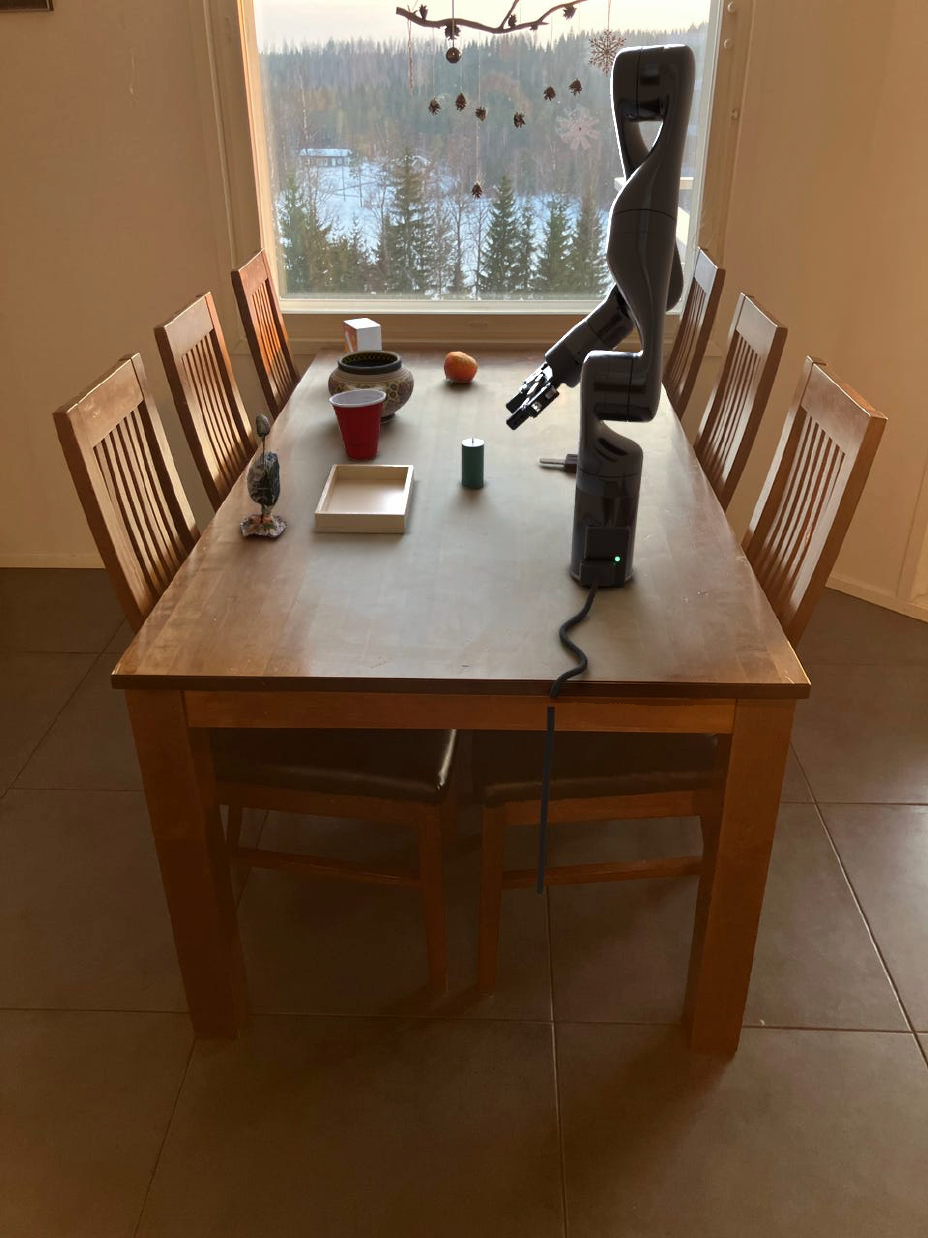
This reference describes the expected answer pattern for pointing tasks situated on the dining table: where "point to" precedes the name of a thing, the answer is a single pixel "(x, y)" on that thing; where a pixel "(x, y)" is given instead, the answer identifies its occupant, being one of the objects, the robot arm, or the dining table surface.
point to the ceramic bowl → (374, 378)
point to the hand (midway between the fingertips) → (509, 418)
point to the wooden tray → (365, 499)
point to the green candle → (472, 463)
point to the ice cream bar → (564, 462)
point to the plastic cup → (359, 421)
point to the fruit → (459, 367)
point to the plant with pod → (264, 488)
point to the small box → (362, 335)
